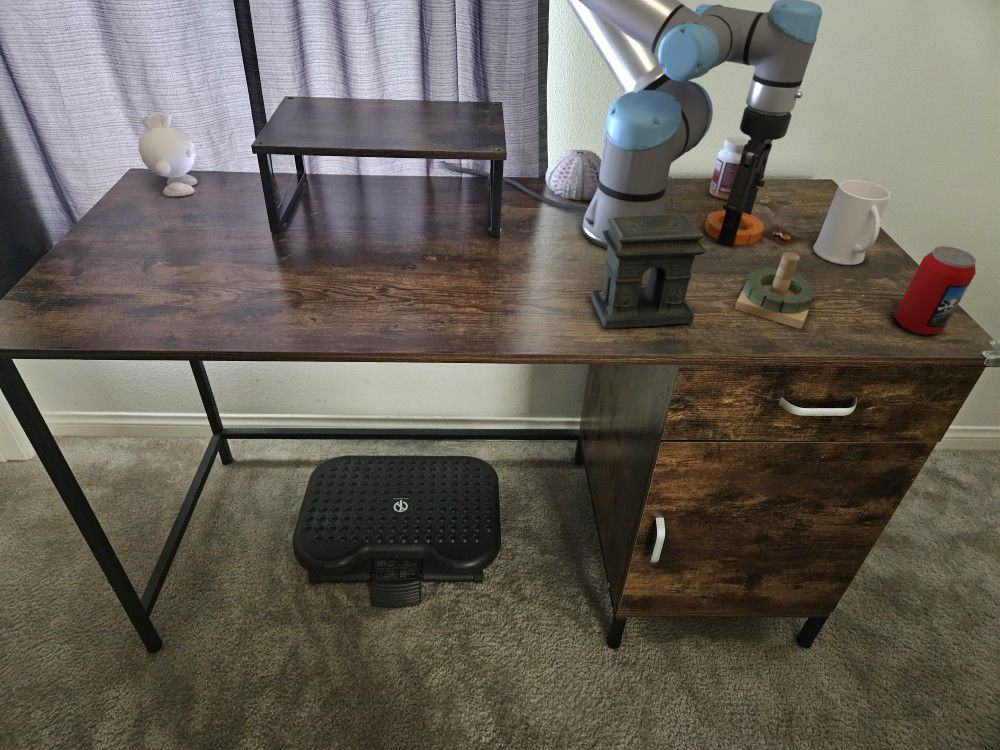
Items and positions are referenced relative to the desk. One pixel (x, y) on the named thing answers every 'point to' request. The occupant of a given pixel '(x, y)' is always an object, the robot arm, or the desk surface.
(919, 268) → the beverage can
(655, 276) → the model
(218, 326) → the desk surface
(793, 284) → the stacker
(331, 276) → the desk surface
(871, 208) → the mug
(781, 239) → the diorama
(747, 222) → the orange ring
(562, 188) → the sea urchin shell
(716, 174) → the pill bottle
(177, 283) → the desk surface
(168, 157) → the white cartoon figurine
